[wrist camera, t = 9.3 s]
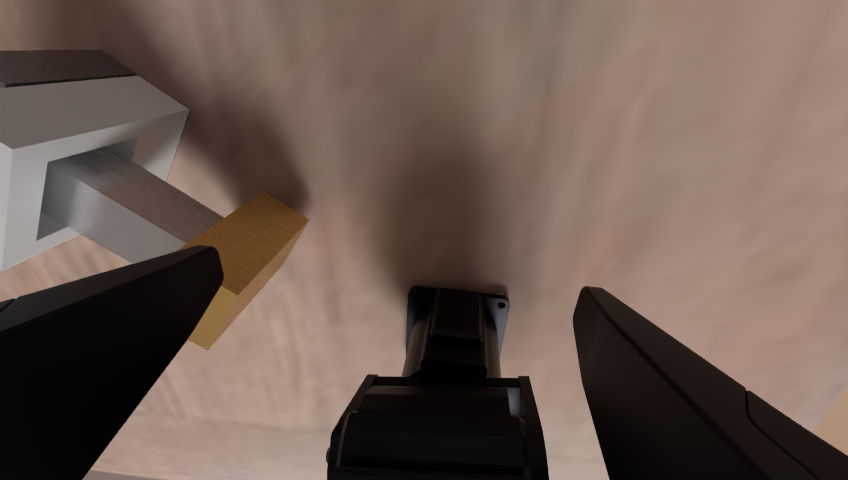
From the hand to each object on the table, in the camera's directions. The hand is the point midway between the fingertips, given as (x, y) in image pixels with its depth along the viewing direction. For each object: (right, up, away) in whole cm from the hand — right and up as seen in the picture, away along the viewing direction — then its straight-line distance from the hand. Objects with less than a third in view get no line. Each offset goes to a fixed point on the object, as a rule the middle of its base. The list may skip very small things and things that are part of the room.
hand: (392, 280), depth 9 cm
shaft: (-12, +4, +13) cm, 18 cm away
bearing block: (-15, +7, +13) cm, 21 cm away
